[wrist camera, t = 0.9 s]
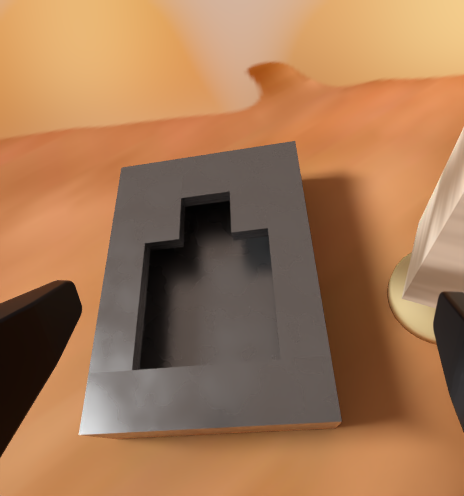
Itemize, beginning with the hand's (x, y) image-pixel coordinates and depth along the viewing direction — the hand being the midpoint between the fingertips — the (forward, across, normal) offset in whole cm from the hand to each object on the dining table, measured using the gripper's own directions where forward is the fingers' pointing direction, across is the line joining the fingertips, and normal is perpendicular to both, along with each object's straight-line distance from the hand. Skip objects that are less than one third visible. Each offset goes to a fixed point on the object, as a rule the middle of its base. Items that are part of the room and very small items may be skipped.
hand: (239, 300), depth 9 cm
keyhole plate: (+14, +4, +9) cm, 17 cm away
